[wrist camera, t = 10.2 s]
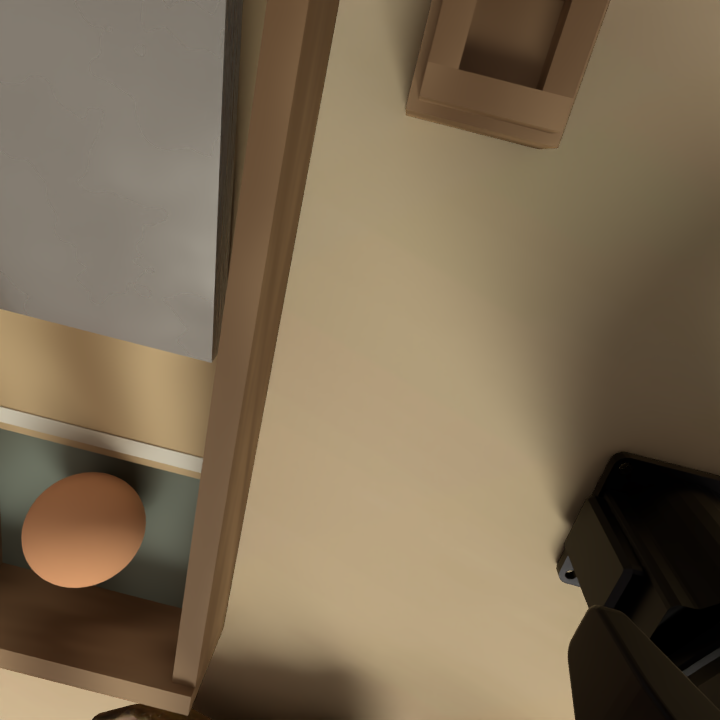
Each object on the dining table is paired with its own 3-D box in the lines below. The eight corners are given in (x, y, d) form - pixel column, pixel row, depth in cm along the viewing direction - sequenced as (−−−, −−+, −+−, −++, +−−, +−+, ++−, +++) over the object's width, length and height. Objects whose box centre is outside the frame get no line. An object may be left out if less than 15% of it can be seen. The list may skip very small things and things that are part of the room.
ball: (98, 582, 18) (156, 469, 20) (-26, 549, 18) (49, 440, 20) (123, 613, 21) (170, 512, 24) (18, 585, 21) (78, 487, 24)
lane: (351, -64, 15) (311, -207, 9) (223, 627, 26) (167, 767, 20) (-47, -166, 15) (-345, -374, 9) (-9, 568, 26) (-134, 690, 20)
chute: (283, -70, 14) (233, -158, 10) (223, 351, 19) (173, 402, 15) (-18, -147, 14) (-184, -265, 10) (-2, 293, 19) (-111, 330, 15)
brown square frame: (592, -11, 15) (641, -55, 12) (538, 149, 17) (568, 147, 14) (446, -48, 15) (455, -103, 12) (406, 115, 17) (404, 105, 14)
